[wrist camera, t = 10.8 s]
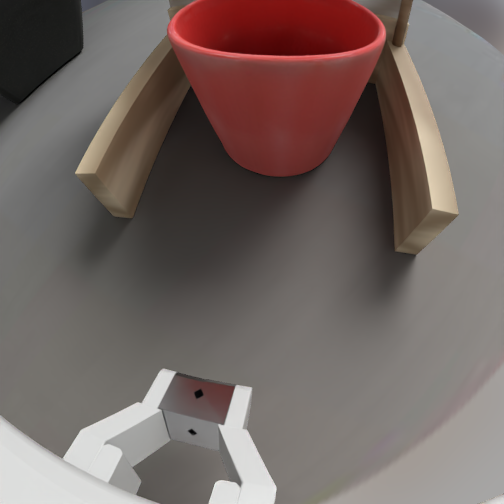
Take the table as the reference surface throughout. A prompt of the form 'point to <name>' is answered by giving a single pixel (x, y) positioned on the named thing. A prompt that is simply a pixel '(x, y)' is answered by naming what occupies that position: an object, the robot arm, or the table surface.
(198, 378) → the robot arm
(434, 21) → the table surface
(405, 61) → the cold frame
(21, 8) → the flower pot
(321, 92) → the flower pot
